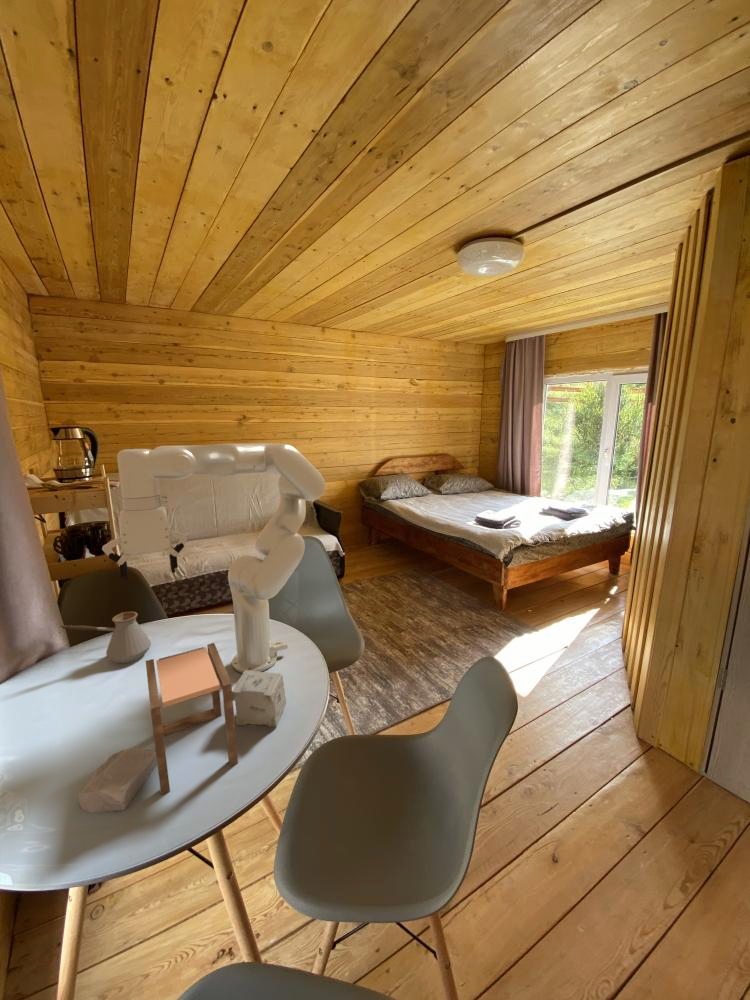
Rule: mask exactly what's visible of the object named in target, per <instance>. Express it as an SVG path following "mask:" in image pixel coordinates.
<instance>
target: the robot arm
mask: <svg viewBox="0 0 750 1000" xmlns="http://www.w3.org/2000/svg"><path fill="white" fill-rule="evenodd" d="M116 458H117V466H118V474H119V475H118V476H119V482H120V492H121V493H120V494H121V500H122V508H123V509H122V510H120V512H119V521H118V524H119V536H118V537H116V538H114V539H112V540H110V541H109V542H107V543H106V544H104V545H103V546H102V548H101V550H102V551H103V553H104V554H105V555H106V556H107V557H108V559H110V560H111V561H113V562H115V563H116V564H117V565H119V566H118V567H119V571H120V578H124V582H128V581H129V570H128V562H127V560H128V558H129V557H130V556H134V555H135V556H136V555H142V554H149V553H156V552H161V551H166V552H168V553H169V564H170V566H169V567H170V571H171V573H172V574H174V573H176V569H178V568H179V567H178V558H177V557H178V555H179V553H180V552H181V551H182V550H183V549H184V548H185V545H186V542H187V540H188V535H187V534H185V533H181V532H179V531H175V530H172V529H171V528H170V523H169V518H168V513H167V510H166V507H165V506H163V504H164V503H168V496H164V495H161V493H160V482H159V480H182V479H183V480H184V479H186V478H188V477H191V476H192V475H212V476H217V477H219V476H220V477H240V476H241V477H243V476H254V475H256V476H257V475H270V474H272V475H278V476H279V478H278V482H277V483H278V485H277V486H278V490H279V499H280V500H279V505H278V507H277V510H276V511H275V512H274V514H273V515H272V516H271V518H270V519H269V521H267V524H266V525H264V527H263V529H262V530H261V531H260V533H258V535H257V537H256V539H255V543H254V544H255V545H254V546H255V549H256V551H257V553H259V554H260V555H261V556H263V557H264V560H263V559H261V558H259V557H256V556H253V555H241V556H238V557H237V558H235V559H234V560H233V561H232V562H231V564H230V565H229V568H228V572H227V579H228V585H229V589H230V591H231V598H232V603H233V616H234V617H233V619H234V629H235V630H234V631H235V644H236V654H235V655H234V656H233V658H232V660H231V665H232V666H231V667H232V668H233V670H234V671H236V672H238V673H241V674H243V672H244V671H245V670H250V671H258V672H265V671H266V670H268V669H269V668H271V667H273V666H274V665H275V663H276V662H277V661H278V652H279V651H283V650H284V651H285V650H287V649H288V647H289V646H288V642H287V641H284V642H281V640H276V641H272V639H271V622H270V608H269V607H270V605H269V599H272V598H274V597H275V596H277V594H278V593H279V592H280V591H281V590H282V588H283V587H284V586H285V584H286V583H287V581H289V579H290V577H291V575H292V574H293V573H294V572H295V570H297V569H296V568H298V565H299V564H300V563H301V561H302V559H303V557H304V555H305V550H306V548H305V547H306V543H305V540H304V538H303V536H302V535H301V534H299V530H300V528H301V527H302V525H303V523H304V521H305V519H306V514H307V506H306V501H308V502H309V501H310V502H311V501H312V502H314V501H317V500H319V499H321V497H323V495H324V493H325V491H326V480H325V478H324V477H323V475H322V474H321V472H320V471H319V470H318V469H317V468H316V467H315V466H314V465H313V464H312V462H310V461H309V460H308V459H307V458H306V457H305V456H304V455H303V454H302V452H300V451H299V450H298V449H297V448H296V447H294V446H292V445H290V444H288V443H274V442H273V443H272V442H270V443H269V442H268V443H267V442H266V443H265V442H263V443H262V442H261V443H259V442H258V443H257V442H256V443H253V442H251V443H217V444H216V443H215V444H199V445H197V444H196V445H160V446H157V447H155V448H154V449H150V448H129V449H128V448H127V449H122V450H119V451H118V453H117V456H116ZM172 538H176V539H179V541H178V543H176V545H175V546H172ZM118 545H120V547H121V551H122V552H121V553H120V555H119V554H117V553H116V552H115V551H113V548H115V547H117V546H118Z"/></svg>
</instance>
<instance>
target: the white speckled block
mask: <svg viewBox="0 0 750 1000" xmlns="http://www.w3.org/2000/svg"><path fill="white" fill-rule="evenodd" d="M284 684H285V683H284V678H283V674H282V673H281V672H280V673H279V672H267V671H261V672H258V671H250V670H245V671H244V672H243V673H241V676H240V678H238V681H237V683H236V684H235V686H234V688H232V697H233V702H234V703H235V710H236V711H235V712H236V713H235V714H236V717H235V718H234V721H235V726H246V725H248V724H249V725H265V726H267V727H270V728H271V727H272V728H273V727H277V726H278V725H279V721H280V718H281V717H282V715H283V712H284V710H285V709H286V705H287V698H286V695H285V694H286V693H285V692H286V691H285V685H284Z"/></svg>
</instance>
